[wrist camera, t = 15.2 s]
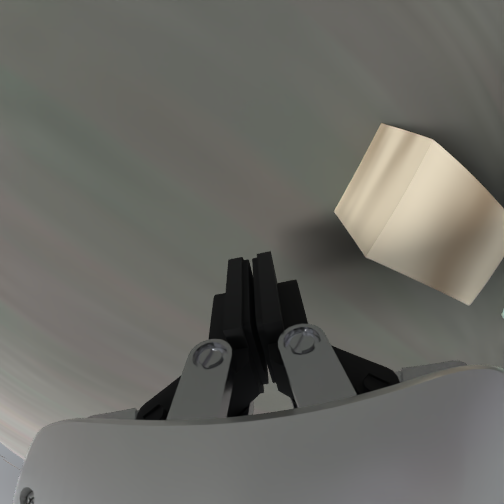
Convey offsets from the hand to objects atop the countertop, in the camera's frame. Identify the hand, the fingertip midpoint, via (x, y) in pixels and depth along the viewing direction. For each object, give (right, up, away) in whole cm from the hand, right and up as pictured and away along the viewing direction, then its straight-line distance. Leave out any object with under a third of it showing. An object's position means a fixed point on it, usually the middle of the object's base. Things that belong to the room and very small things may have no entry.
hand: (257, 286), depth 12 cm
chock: (+8, +4, +2) cm, 10 cm away
